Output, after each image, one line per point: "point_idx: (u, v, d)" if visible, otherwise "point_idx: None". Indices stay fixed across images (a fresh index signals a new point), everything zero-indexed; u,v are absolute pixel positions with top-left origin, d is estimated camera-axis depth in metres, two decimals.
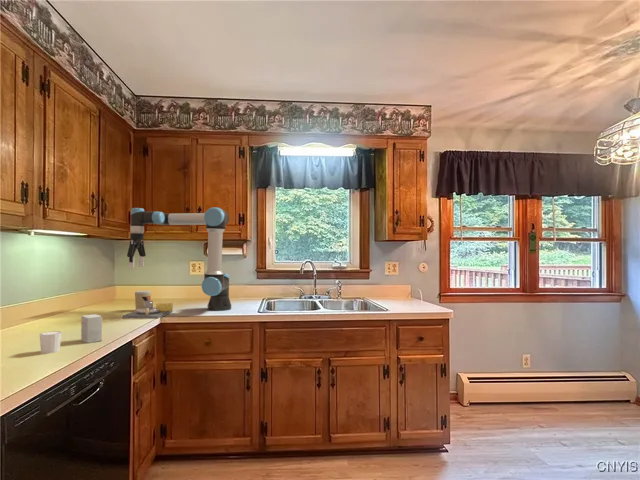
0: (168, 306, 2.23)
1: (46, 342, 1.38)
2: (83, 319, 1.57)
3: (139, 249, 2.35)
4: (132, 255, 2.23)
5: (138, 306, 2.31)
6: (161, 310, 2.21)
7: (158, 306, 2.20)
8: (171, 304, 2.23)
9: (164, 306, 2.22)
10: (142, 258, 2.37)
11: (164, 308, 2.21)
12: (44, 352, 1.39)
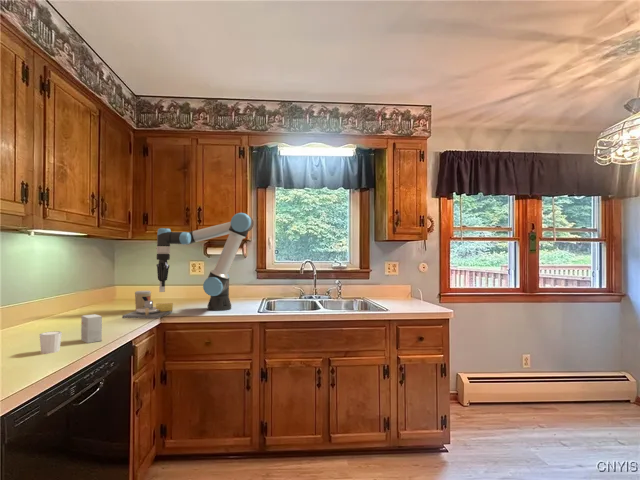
0: (168, 306, 2.23)
1: (46, 342, 1.38)
2: (83, 319, 1.58)
3: None
4: None
5: (138, 306, 2.31)
6: (161, 310, 2.21)
7: (158, 306, 2.20)
8: (171, 304, 2.23)
9: (164, 306, 2.22)
10: None
11: (164, 308, 2.21)
12: (44, 352, 1.39)
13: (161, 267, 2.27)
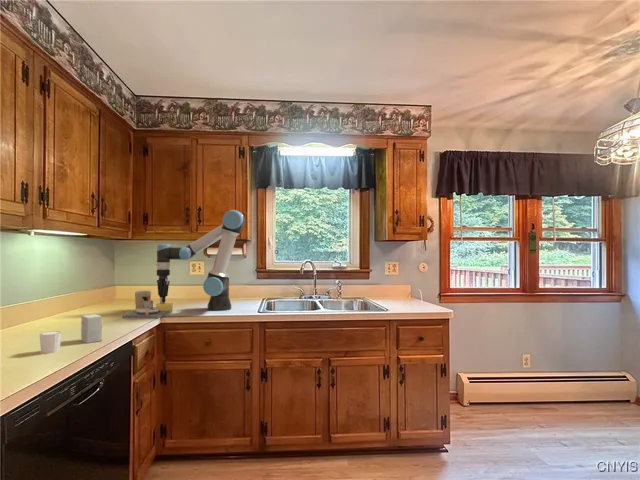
0: (168, 306, 2.23)
1: (46, 342, 1.38)
2: (83, 319, 1.58)
3: None
4: (165, 296, 2.28)
5: (138, 306, 2.31)
6: (161, 310, 2.21)
7: (158, 306, 2.20)
8: (171, 304, 2.23)
9: (164, 306, 2.22)
10: None
11: (164, 308, 2.21)
12: (44, 352, 1.39)
13: (161, 283, 2.26)
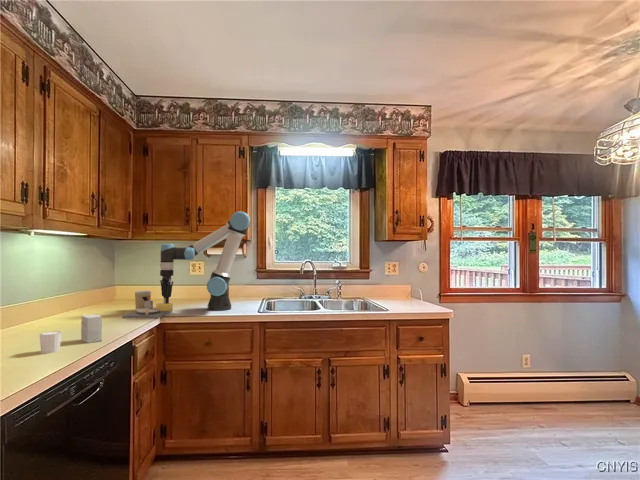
0: (168, 306, 2.22)
1: (46, 342, 1.38)
2: (83, 319, 1.58)
3: None
4: (169, 296, 2.25)
5: (138, 306, 2.31)
6: (161, 310, 2.21)
7: (158, 306, 2.20)
8: (171, 304, 2.23)
9: (164, 307, 2.21)
10: None
11: (164, 308, 2.21)
12: (44, 352, 1.39)
13: (165, 283, 2.23)
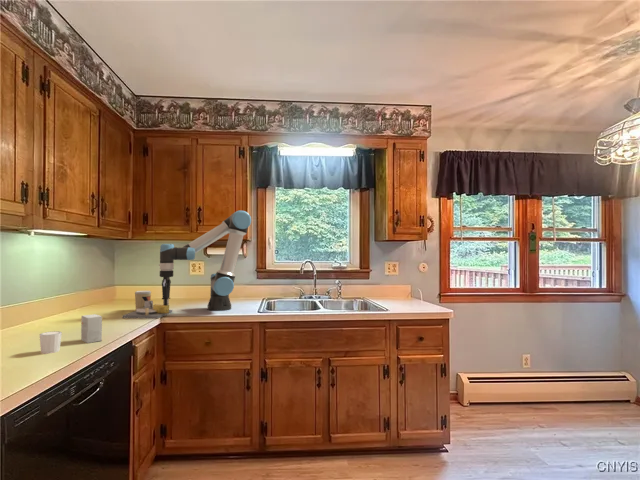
0: (163, 308, 2.15)
1: (46, 342, 1.38)
2: (83, 319, 1.58)
3: None
4: (167, 298, 2.17)
5: (138, 306, 2.31)
6: (157, 311, 2.16)
7: (154, 307, 2.17)
8: (165, 306, 2.15)
9: (159, 308, 2.16)
10: None
11: (159, 310, 2.16)
12: (44, 352, 1.39)
13: None
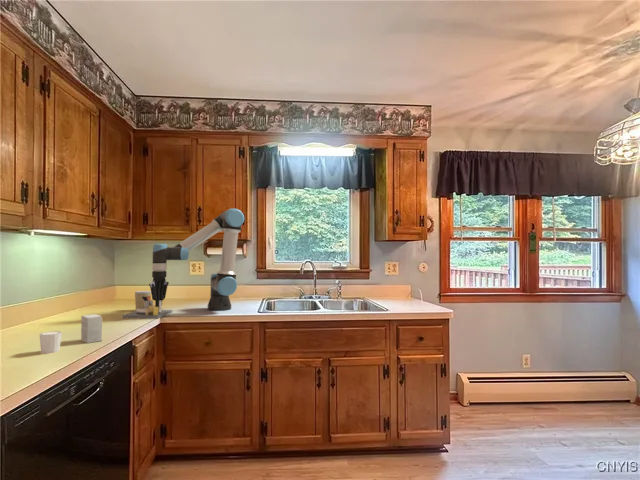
0: (152, 310, 2.10)
1: (46, 342, 1.38)
2: (83, 319, 1.58)
3: None
4: (157, 299, 2.11)
5: (138, 306, 2.31)
6: (150, 312, 2.13)
7: (149, 308, 2.14)
8: (153, 308, 2.09)
9: (151, 309, 2.12)
10: None
11: (151, 311, 2.12)
12: (44, 352, 1.39)
13: None
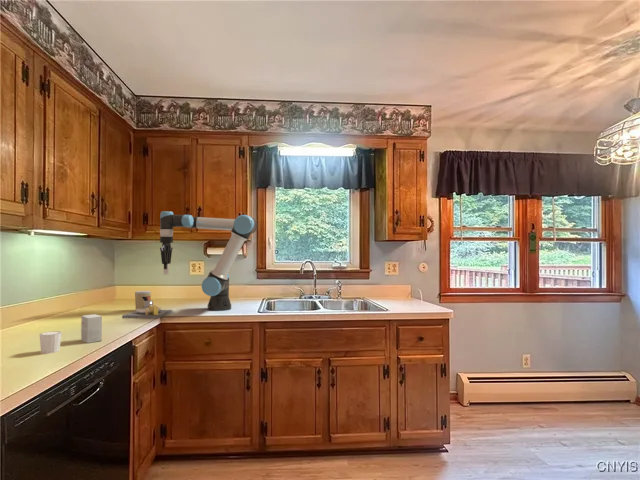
0: (152, 310, 2.10)
1: (46, 342, 1.38)
2: (83, 319, 1.57)
3: None
4: (166, 263, 2.29)
5: (138, 306, 2.31)
6: (150, 312, 2.13)
7: (149, 308, 2.14)
8: (153, 308, 2.09)
9: (151, 309, 2.12)
10: None
11: (151, 311, 2.12)
12: (44, 352, 1.39)
13: None
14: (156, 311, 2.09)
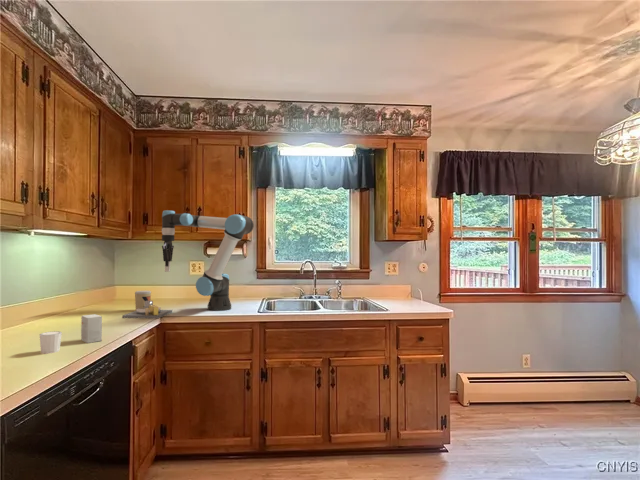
0: (152, 310, 2.10)
1: (46, 342, 1.38)
2: (83, 319, 1.57)
3: None
4: (168, 260, 2.36)
5: (138, 306, 2.31)
6: (150, 312, 2.13)
7: (149, 308, 2.14)
8: (153, 308, 2.09)
9: (151, 309, 2.12)
10: None
11: (151, 311, 2.12)
12: (44, 352, 1.39)
13: None
14: (156, 311, 2.09)
